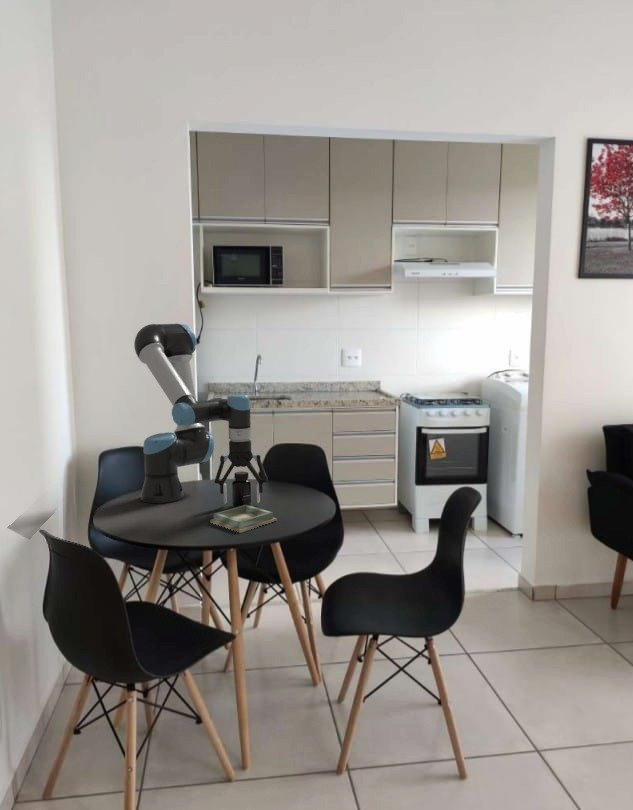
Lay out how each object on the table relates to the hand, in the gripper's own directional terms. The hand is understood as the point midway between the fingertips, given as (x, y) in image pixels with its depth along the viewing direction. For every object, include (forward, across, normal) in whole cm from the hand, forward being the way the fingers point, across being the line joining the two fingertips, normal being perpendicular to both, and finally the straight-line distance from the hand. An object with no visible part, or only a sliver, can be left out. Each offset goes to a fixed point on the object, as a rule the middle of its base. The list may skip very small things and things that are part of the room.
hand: (241, 502), depth 215 cm
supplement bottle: (+2, 0, 0) cm, 2 cm away
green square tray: (+2, +2, -18) cm, 18 cm away
